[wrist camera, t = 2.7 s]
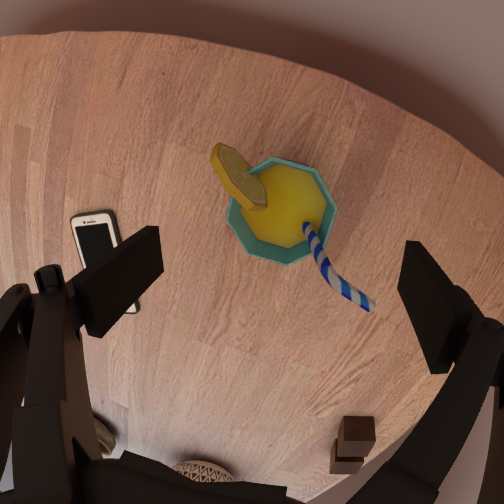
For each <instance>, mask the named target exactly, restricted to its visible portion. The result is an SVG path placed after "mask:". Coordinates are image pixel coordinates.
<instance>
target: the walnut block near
mask: <svg viewBox="0 0 504 504" xmlns="http://www.w3.org/2000/svg"><path fill="white" fill-rule="evenodd" d="M375 442H376V436H375V424H374V417H354V416H344V417H343V420H342V423H341V426H340V429H339V431H338V450H337V456H338V457H367V456H368V454H369V453H370V451H371V449H372V447H373V445H374V444H375Z"/></svg>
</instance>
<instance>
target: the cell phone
mask: <svg viewBox="0 0 504 504" xmlns="http://www.w3.org/2000/svg"><path fill="white" fill-rule="evenodd" d="M70 224H71V229H72V232H73V236H75V237H74V240H75V243H76V247H78V248H77V250H78V254H79V257H80V260H81V264H82V267H83V270H84V269H85V268H86V267H88V266H89V265H90V264H92V263H93V262H95V261H96V260H97V259H99V258H100V257H102V256H103V255H104V254H106V253H107V252H109V251H110V250H112V249H113V248H114V247H116V246H117V245H119V244H120V243H121V241H120V237H119V233H118V229H117V225H116V221H115V217H114V215H113V212H112V211H110V210H103V211H96V212H90V213H83V214H78V215H75V216H73V217H71V219H70ZM138 311H139V305H138V301H137V300H136V301H135V302H134V304H133V305H132V306H131V307H130V308H129V309H128V310H127V311H126V312H125V313H124V314H136V313H137V312H138Z"/></svg>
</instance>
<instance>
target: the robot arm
mask: <svg viewBox="0 0 504 504" xmlns="http://www.w3.org/2000/svg"><path fill="white" fill-rule="evenodd" d="M163 272H164V267H163V259H162V252H161V244H160V235H159V226H145V227H144V228H142V229H141V230H139V231H138V232H136V233H135V234H133V235H132V236H130V237H129V238H128V239H126V240H125V241H123V242H122V243H120V244H119V245H117V246H116V247H114V248H113V249H112V250H110V251H109V252H107V253H106V254H104V255H103V256H102V257H100V258H99V259H97V260H96V261H95V262H93V263H92V264H90V265H89V266H88V267H86V268H85V269H84V270H82V271H81V272H79V273H78V274H77V275H75V276H74V277H73V278H71V279H70V280H69V281H68V282H66V283H65V281H64V277H63V273H62V269H61V266H60V265H58V264H52V265H47V266H44V267H41V268H39V269H38V270H37V271H35V273H34V277H35V280H36V284H37V287H38V290H39V293H35V294H31V292H30V289H29V286H28V284H25V283H21V284H15V285H13V286H12V287H11V288H9V289H8V290H7V291H6V292H5V293H4V295H3V296H2V297H1V299H0V481H1V478H2V475H3V472H4V469H5V466H6V462H7V458H8V453H9V449H10V444H11V441H12V464H13V482H14V489H12V490H8V491H5V492H1V491H0V504H305V503H303V502H301V501H298V500H296V499H293V498H290V497H287V496H286V491H287V487H286V486H276V485H267V484H259V483H252V482H245V481H237V482H198V481H194V480H192V479H190V478H188V477H186V476H184V475H182V474H180V473H179V472H177V471H175V470H173V469H171V468H169V467H168V466H166V465H164V464H162V463H161V462H159V461H155V460H152V459H149V458H146V457H143V456H140V455H137V454H134V453H132V452H129V451H126V450H124V452H123V454H122V455H121V457H120V459H112V458H107V459H103V457H102V454H101V450H100V446H99V442H98V437H97V433H96V428H95V424H94V419H93V414H92V408H91V403H90V397H89V391H88V384H87V377H86V370H85V362H84V353H83V342H82V335H81V332H80V328H81V327H82V326H83V325H84V324H85V327H86V330H87V333H88V335H90V336H93V337H97V338H101V339H102V337H103V336H104V335H105V334H106V333H107V332H108V331H109V330H110V329H111V327H112V326H113V325H114V324H115V323H116V322H117V321H118V320H119V319H120V318H121V316H122V315H123V314H124V313H125V312H126V311H127V310H128V309H129V308H130V307H131V306H132V305H133V304H134V302H135V301H136V300H137V299H138V298H139V297H140V296H141V295H142V294H143V293H144V292H145V291H146V290H147V289H148V288H149V287H150V285H151V284H152V283H153V282H154V281H155V280H156V279H157V278H158V277H159V276H160V275H161V274H162V273H163ZM397 290H398V292H399V294H400V296H401V299H402V301H403V303H404V306H405V308H406V310H407V313H408V315H409V318H410V320H411V322H412V325H413V327H414V330H415V333H416V335H417V338H418V340H419V343H420V345H421V348H422V351H423V354H424V356H425V359H426V362H427V365H428V367H429V370H430V373H431V374H445V373H448V372H449V370H450V367H451V365H452V363H453V361H454V363H455V366H454V368H453V369H452V371H451V373H450V375H449V376H448V378H447V380H446V381H445V383H444V385H443V386H442V388H441V389H440V391H439V393H438V394H437V396H436V397H435V399H434V400H433V402H432V403H431V405H430V406H429V408H428V409H427V411H426V412H425V414H424V415H423V417H422V418H421V419H420V421H419V422H418V424H417V425H416V426H415V428H414V429H413V431H412V432H411V433H410V435H409V436H408V437H407V438H406V440H405V441H404V442H403V444H402V445H401V446H400V447H399V449H398V450H397V451H396V452H395V454H394V455H393V456H392V457H391V458H390V459H389V461H386V462H385V463H384V464H383V465H382V466H381V467H380V469H379V470H378V471H377V472H376V473H375V474H374V475H373V476H372V477H371V478H370V479H369V480H368V481H367V483H366V484H365V485H364V486H363V487H362V488H361V489H360V490H359V491H358V492H357V493H356V494H355V495H354V496H353V497H352V498H351V499H350V500H349V501H348V502H347V503H346V504H433V503H434V502H435V500H436V498H437V497H438V494H439V491H438V488H439V487H440V485H441V483H442V482H443V480H444V478H445V477H446V475H447V474H448V472H449V470H450V468H451V467H452V465H453V463H454V462H455V460H456V458H457V456H458V454H459V453H460V451H461V449H462V447H463V445H464V443H465V441H466V439H467V437H468V435H469V433H470V431H471V429H472V427H473V425H474V423H475V420H476V418H477V416H478V413H479V412H480V409H481V407H482V404H483V402H484V400H485V397H486V395H487V392H488V390H489V387H490V386H494V387H495V391H494V407H493V419H492V429H491V436H490V443H489V450H488V456H487V461H486V467H485V472H484V476H483V481H482V485H481V489H480V493H479V497H478V501H477V504H504V325H503V324H501V323H500V322H499V321H497V320H495V319H492V318H488V317H484V315H483V314H482V312H481V311H480V309H479V308H478V307H477V305H476V304H475V303H474V301H473V300H472V299H471V297H470V296H469V294H468V293H467V292H466V291H465V290H464V289H462V288H461V287H460V286H458V285H453V283H452V282H451V280H450V279H449V278H448V276H447V275H446V274H445V273H444V271H443V270H442V269H441V267H440V266H439V265H438V264H437V262H436V261H435V260H434V258H433V257H432V256H431V255H430V253H429V252H428V251H427V250H426V249H425V247H424V246H423V245H422V244H421V243H420V241H408V240H406V245H405V251H404V257H403V262H402V267H401V272H400V277H399V282H398V286H397ZM18 330H19V331H18ZM19 332H20V333H19ZM23 398H24V406H22V407H21V404H22V401H23Z"/></svg>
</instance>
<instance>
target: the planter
mask: <svg viewBox="0 0 504 504" xmlns="http://www.w3.org/2000/svg"><path fill="white" fill-rule="evenodd" d="M171 469H173V470H175V471H177V472H179V473H180V474H182V475H184V476H186V477H188V478H190V479H192V480H194V481H198V482H236V481H235V480H234V478H233V477H232V476H231V475H230V474H229V473H228V472H227V471H226V470H225V469H223V468H222V467H220V466H218V465H216V464H213V463H210V462H207V461H201V460H191V461H186V462H182V463H179V464H177V465H174V466H173V467H171Z"/></svg>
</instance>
